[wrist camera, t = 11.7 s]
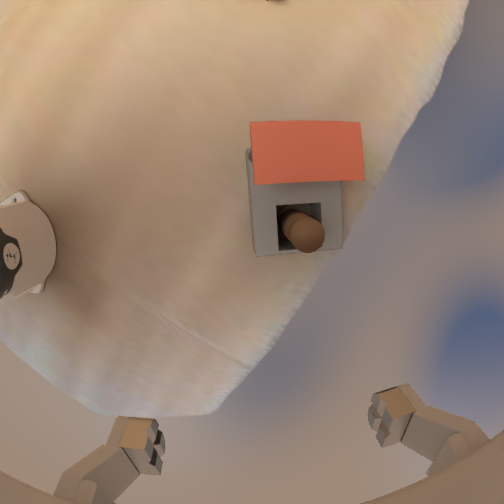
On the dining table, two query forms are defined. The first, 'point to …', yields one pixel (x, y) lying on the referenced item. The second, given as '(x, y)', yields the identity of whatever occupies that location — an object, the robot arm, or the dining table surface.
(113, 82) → the dining table surface
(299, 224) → the walnut peg
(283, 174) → the socket stand
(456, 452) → the robot arm
